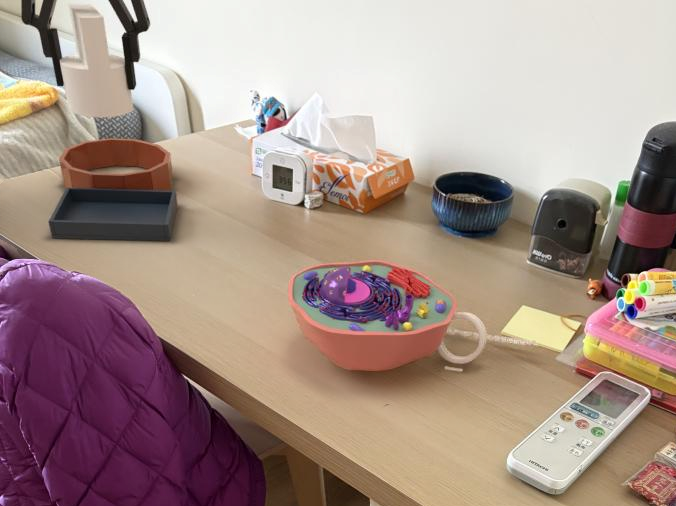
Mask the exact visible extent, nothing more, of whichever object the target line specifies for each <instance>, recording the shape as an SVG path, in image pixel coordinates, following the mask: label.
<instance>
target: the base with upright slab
mask: <svg viewBox="0 0 676 506" xmlns="http://www.w3.org/2000/svg"><path fill="white" fill-rule="evenodd" d="M68 9H69V10H68V11H69V15H70V16H69V17H70V22H71V27H72V32H73V39H74V44H75V51H76V53H74V54H69V55H65V56H62V58H61V59H60V66H61V71H62V77H63V82H64V86H63V87H64V92H65V97H66V103H67V108H68V111H69V112H70V113H72V114H75V115H78V116H81V117H89V118H98V119H99V118H115V117H119V116H120V117H121V116H124V115H127V114H129V113H131V112H132V111H133V110H134V104H133V97H132V90H129V89H128V82H127V74H126V67H125V59H124V57H122V56H120V55H115V54H110V53H109V46H108V45H109V44H108V39H107V32H106V26H105V19H104V15H102V14H101V13H100V12H99V11H98V10H97V9H96V7H95V6H94V5H93V4H91V3H68Z"/></svg>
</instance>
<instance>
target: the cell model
mask: <svg viewBox="0 0 676 506" xmlns="http://www.w3.org/2000/svg"><path fill="white" fill-rule="evenodd" d="M287 299H288V303H289V305H290V307H291V309H292V312H293V314H294V316H295V319H296V322H297V324H298V326H299V328H300V331H301V333H302V334H303V335H304V336H305V338H306V339H307V340H308V342H310V343H311V344H312V346H313V347H315V349H317V350H318V352H320V353H321V354H322V355H323V356H324V357H326V358H327V359H328V360H329V361H330V362H332V363H334V364H335V365H336V366H337V367H339V368H341V369H343V370H347V371H359V372H370V371H371V372H382V371H384V372H385V371H388V370H393V369H395V368H399V367H402V366H405V365H409V364H411V363H413V362H417V361H420V360H423V359H425V358H427V357H429V356H430V355H433V354H434V353H435V352H437V351H438V350H437V349H438V348H439V346H440V345H441V343H442V341H443V342H444V338H445V336H446V332H447V329H449V327H450V324H451V322H452V321H453V320H452V317H453V315H454V313H456V311H457V309H458V300H456V298H455V297H454V296H453V295H452V294H451V293H450V292H448V291H447V290H446V289H444V288H443V287H442V286H440V285H439V284H438V283H436V282H435V281H433V280H432V279H431V278H430V277H428V276H427V275H425V274H424V273H422V272H421V271H418V270H415V269H413V268H409V267H406V266H404V265H401V264H397V263H395V262H391V261H386V260H380V259H370V260H361V261H358V260H357V261H347V262H345V261H344V262H327V263H326V262H325V263H321V264H315V265H312V266H309V267H306V268H304V269H302V270H300V271H298V272H297V273H295V274H294V275H293V276H292V277H291V278H290V280H289V282H288V288H287Z"/></svg>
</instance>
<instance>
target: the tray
mask: <svg viewBox="0 0 676 506" xmlns="http://www.w3.org/2000/svg"><path fill="white" fill-rule="evenodd" d="M178 207H179V205H178V196H177V190H169V191H163V190H133V189H102V188H72V187H71V188H70V187H65V189H64V191H63V193H62V195H61V196H60V198H59V200H58V202H57V205H56V206H55V208H54V210H53V212H52V214H51V216H50V218H49V219H48V222H47V223H48V226H49V230H50V234H51V238H52V239H65V240H104V241H105V240H108V241H110V240H111V241H145V242H147V241H149V242H151V241H152V242H171V238H172V234H173V230H174V224H175V220H176V216H177V211H178Z"/></svg>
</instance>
